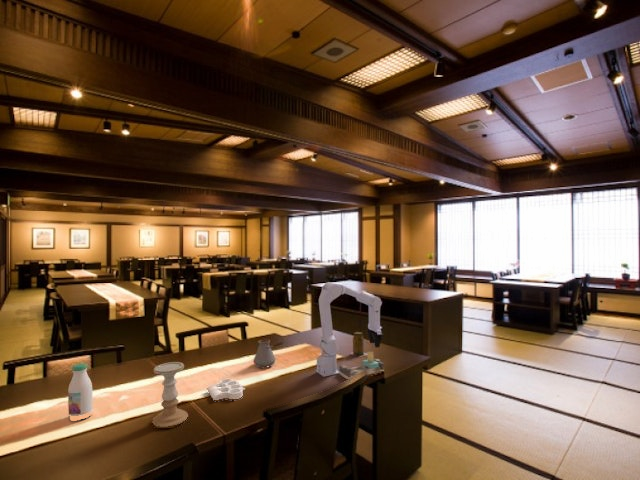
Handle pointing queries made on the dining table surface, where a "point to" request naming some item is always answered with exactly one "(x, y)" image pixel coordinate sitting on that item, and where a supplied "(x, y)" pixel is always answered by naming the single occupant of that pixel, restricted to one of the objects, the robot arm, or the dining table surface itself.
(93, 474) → the dining table surface
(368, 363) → the carriage
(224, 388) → the white flat scalloped piece
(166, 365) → the candle holder
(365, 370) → the rail bed
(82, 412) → the milk bottle
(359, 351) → the condiment
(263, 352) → the coffee pot
